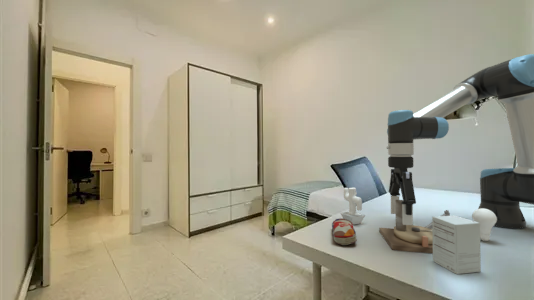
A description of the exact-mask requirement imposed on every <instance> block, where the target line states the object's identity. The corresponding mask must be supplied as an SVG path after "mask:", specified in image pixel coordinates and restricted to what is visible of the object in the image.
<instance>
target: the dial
mask: <svg viewBox="0 0 534 300" xmlns="http://www.w3.org/2000/svg"><path fill="white" fill-rule="evenodd" d="M402 201H403V199H399V200H395V204H396V214H395V226H393V229H394V235H395V236H396V237H398V238H399V239H402V240H405V241H408V242H412V243H417V244H422V236H427V237H428V244H433V234H432V229H429V228H426V227H425V226H420V225H414V224H413V225H403V224H402V204H401V202H402Z"/></svg>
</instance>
